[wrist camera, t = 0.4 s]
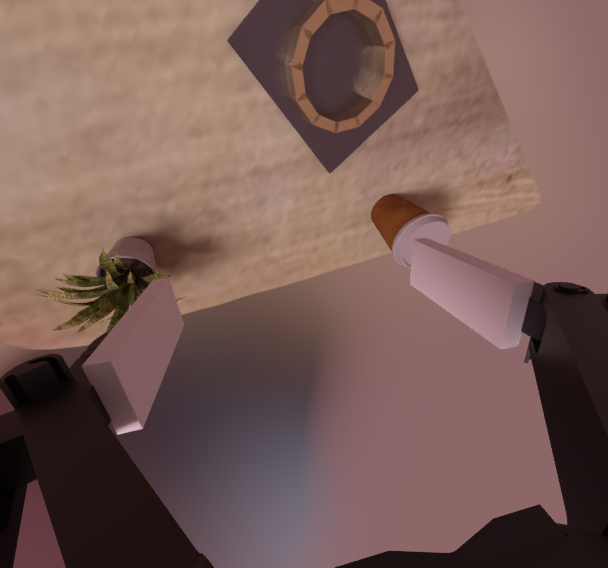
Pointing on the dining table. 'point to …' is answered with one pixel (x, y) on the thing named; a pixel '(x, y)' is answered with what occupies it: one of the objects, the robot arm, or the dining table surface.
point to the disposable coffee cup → (407, 226)
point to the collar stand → (327, 68)
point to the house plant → (112, 283)
